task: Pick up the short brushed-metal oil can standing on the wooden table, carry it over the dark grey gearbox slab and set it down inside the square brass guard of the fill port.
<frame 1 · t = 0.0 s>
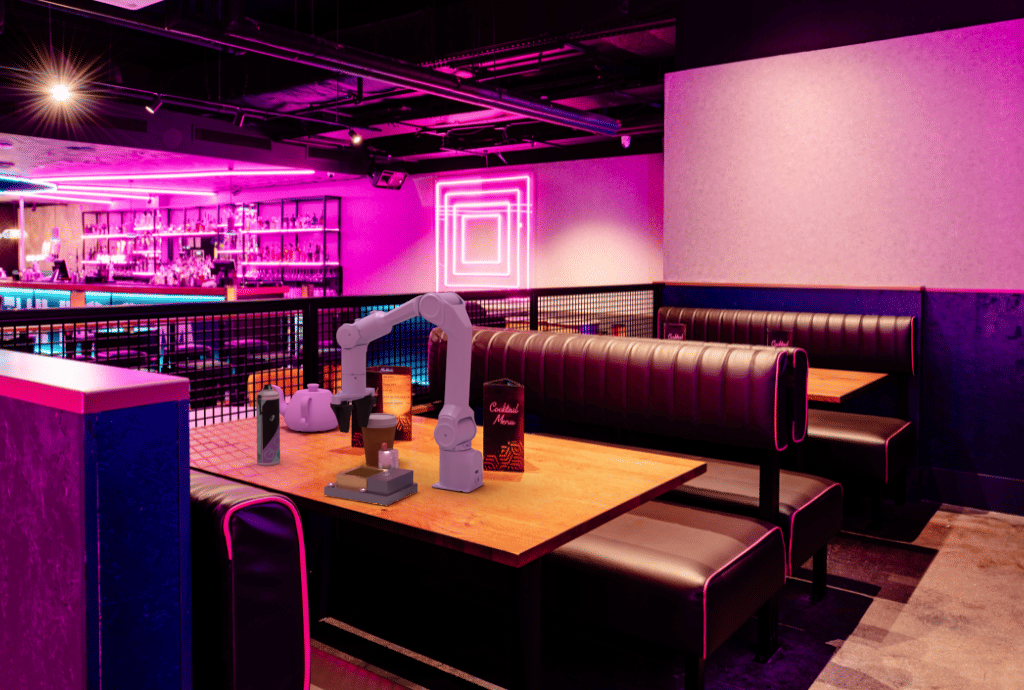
hand: (353, 429, 183), 10 cm above the table, tool pointing down, fingers open, 7 cm apart
disposable coffee cup: (378, 464, 192), on the table, touching gripper
teapot: (305, 429, 233), on the table
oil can: (388, 480, 177), on the table
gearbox: (371, 493, 165), on the table
spray can: (268, 463, 190), on the table
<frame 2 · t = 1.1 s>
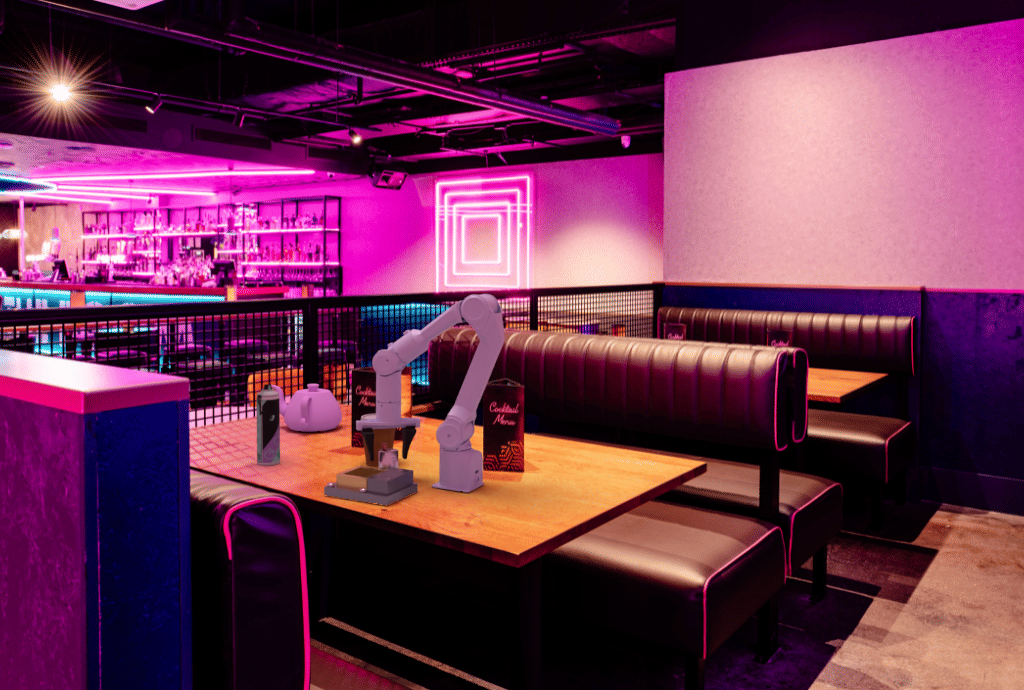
hand: (388, 459, 176), 5 cm above the table, tool pointing down, fingers open, 7 cm apart
disposable coffee cup: (378, 464, 192), on the table
everything else where it was.
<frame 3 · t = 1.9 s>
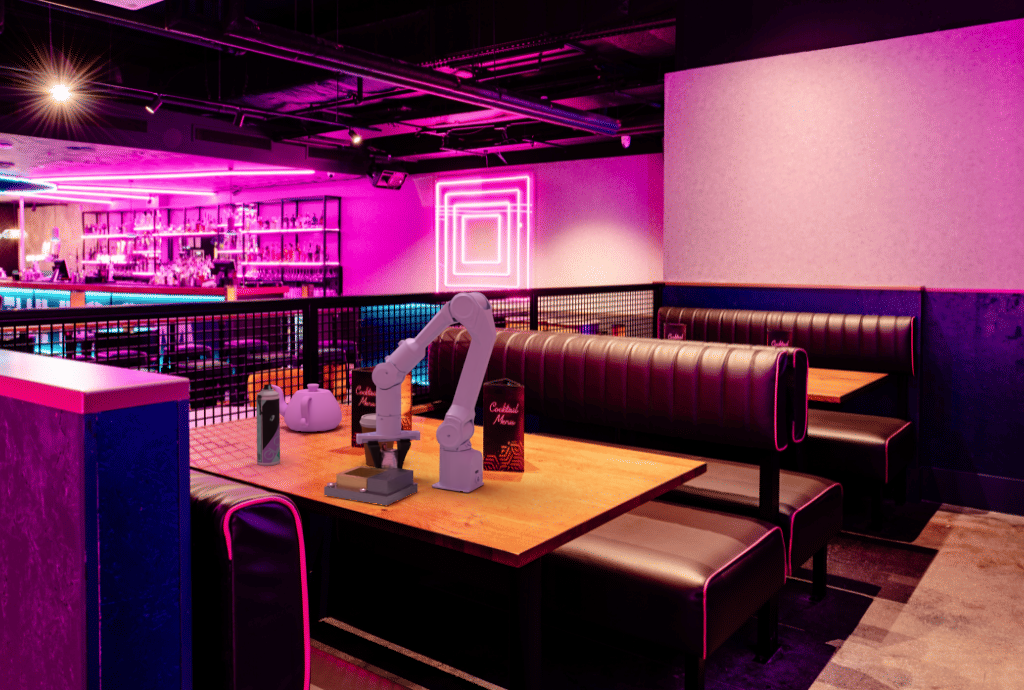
hand: (388, 472, 176), 2 cm above the table, tool pointing down, fingers closed on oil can, 4 cm apart
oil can: (388, 480, 177), on the table, touching gripper
everything else where it was.
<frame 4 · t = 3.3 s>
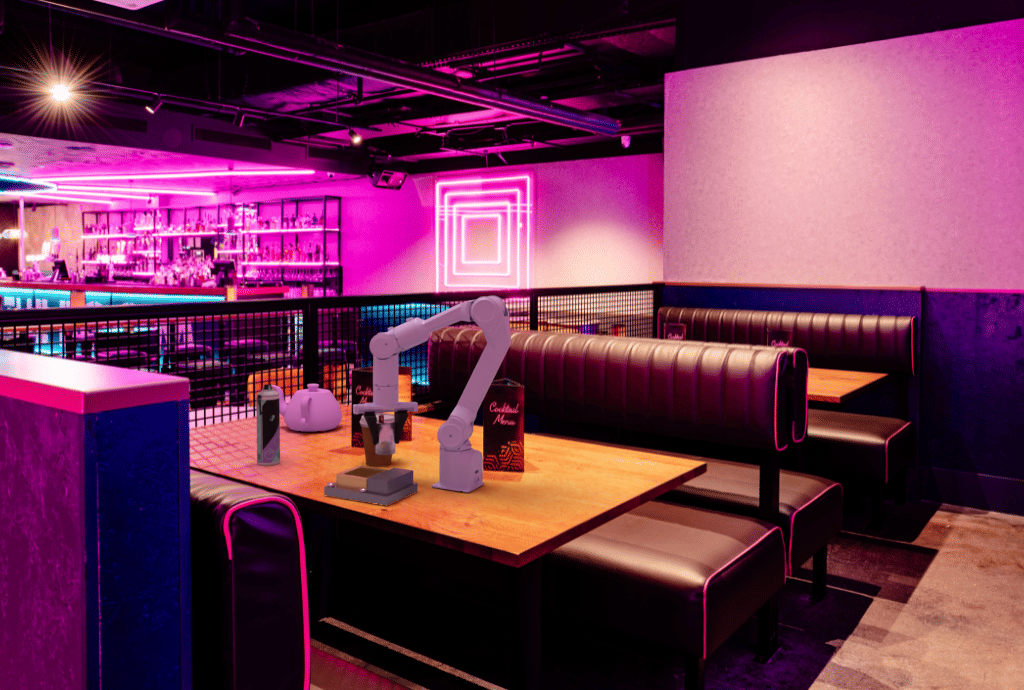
hand: (385, 443, 175), 9 cm above the table, tool pointing down, fingers closed on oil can, 4 cm apart
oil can: (385, 452, 175), point 7 cm above the table, touching gripper
everything else where it was.
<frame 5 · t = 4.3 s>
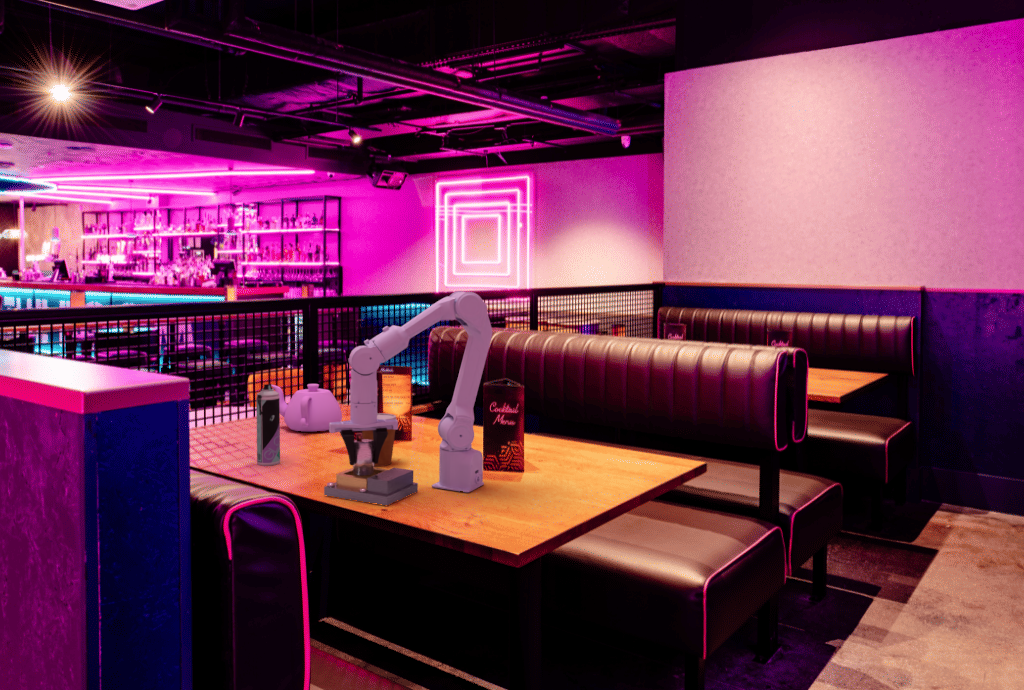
hand: (363, 463, 166), 7 cm above the table, tool pointing down, fingers closed on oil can, 4 cm apart
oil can: (363, 472, 166), point 4 cm above the table, touching gripper
everything else where it was.
when the fingers open (6 cm above the table, at t = 4.8 s): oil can drops 2 cm, resting on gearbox.
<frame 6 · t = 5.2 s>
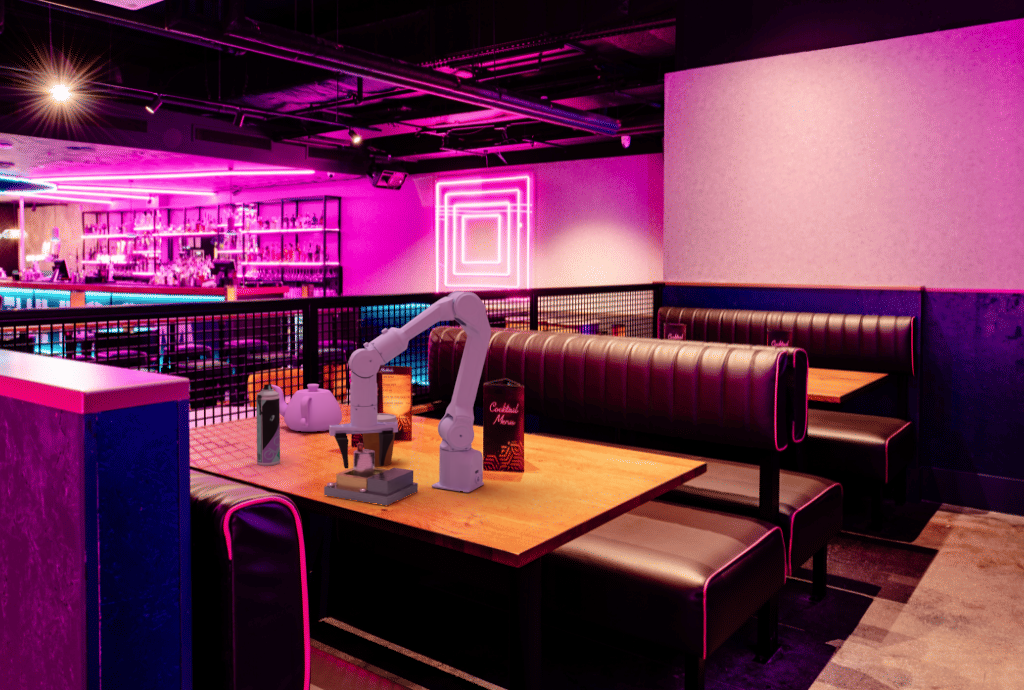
hand: (363, 466, 166), 6 cm above the table, tool pointing down, fingers open, 7 cm apart
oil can: (363, 483, 166), point 2 cm above the table, touching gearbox
everything else where it was.
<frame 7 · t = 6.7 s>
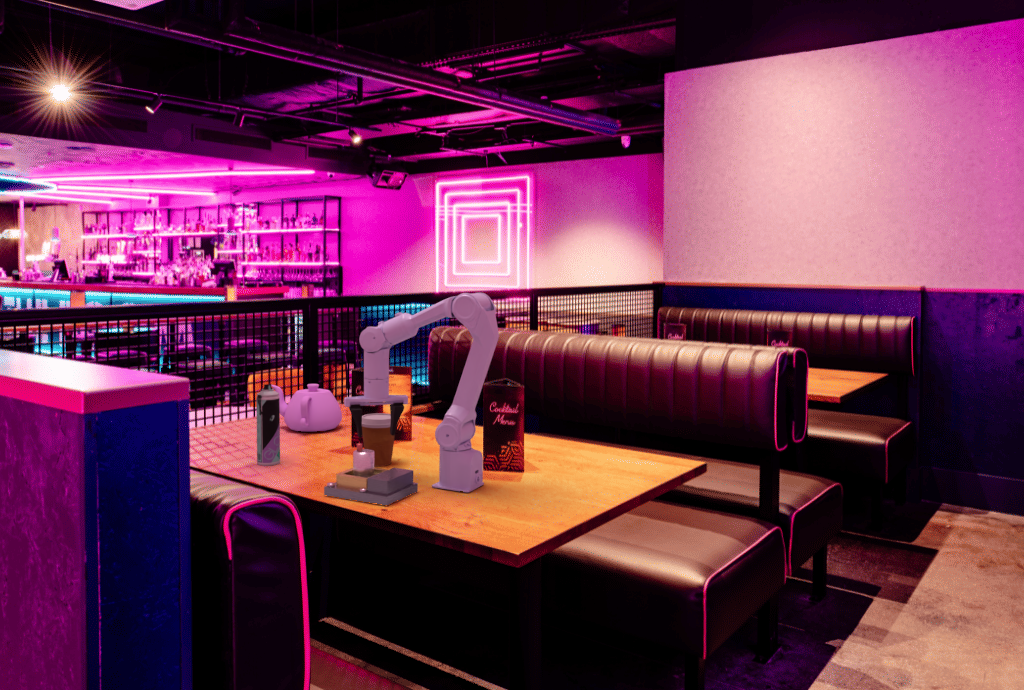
hand: (376, 435, 178), 10 cm above the table, tool pointing down, fingers open, 7 cm apart
nothing on the table moved.
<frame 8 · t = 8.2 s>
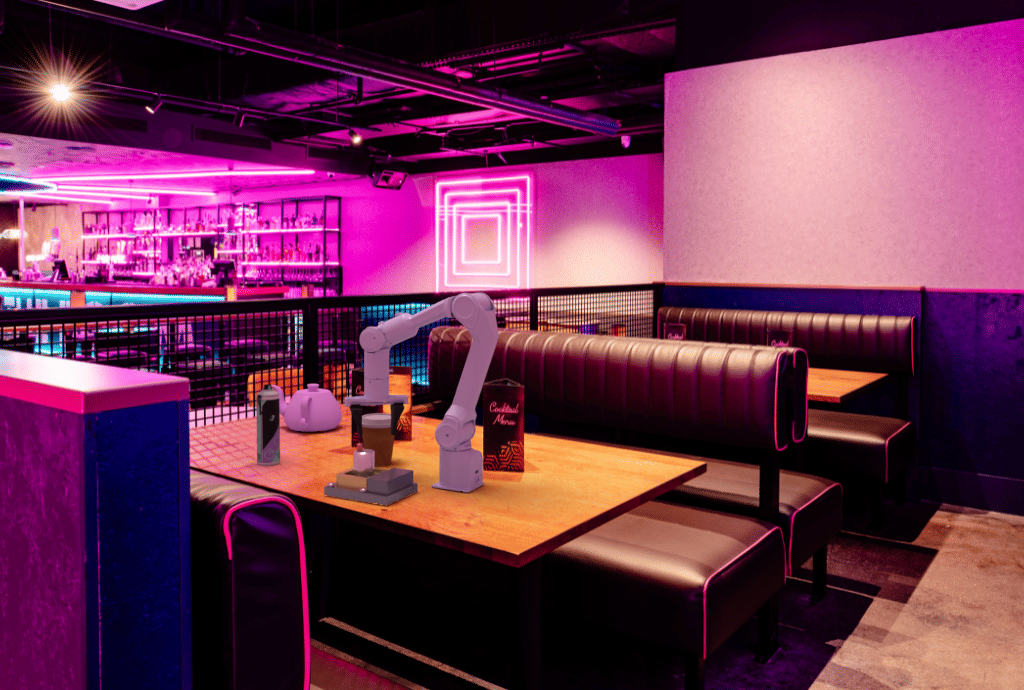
hand: (376, 435, 178), 10 cm above the table, tool pointing down, fingers open, 7 cm apart
nothing on the table moved.
at the end: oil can 0.3 cm from the target spot on the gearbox, point 2.1 cm above the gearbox's base; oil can tilted 2°; the gripper is holding nothing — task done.
